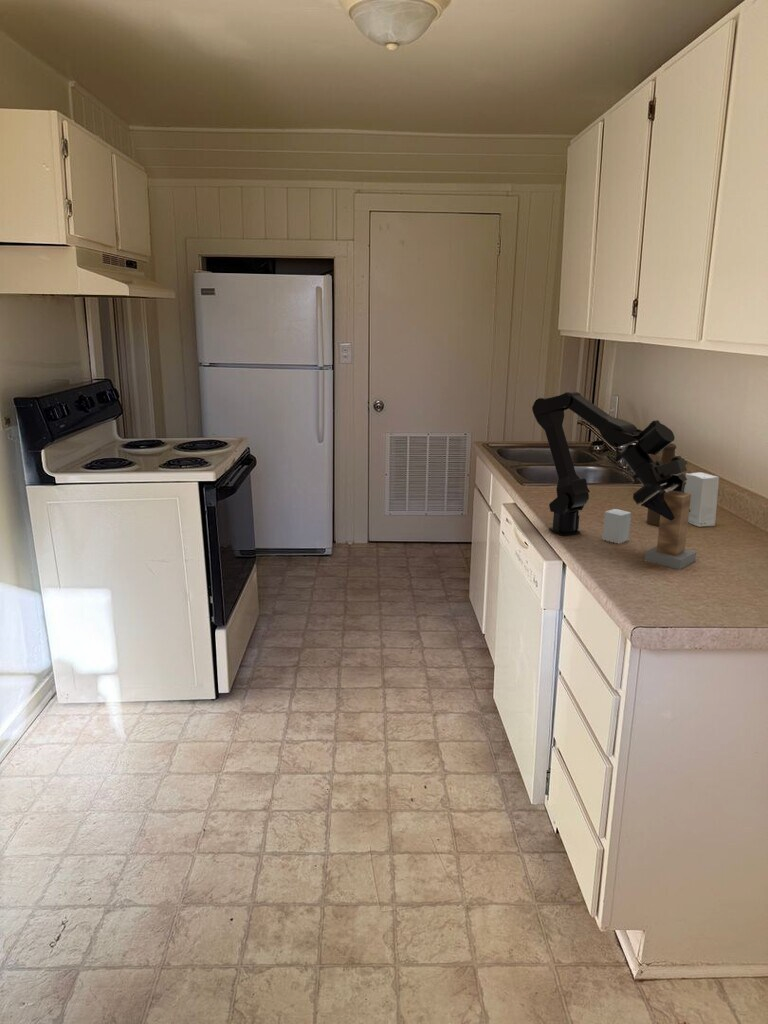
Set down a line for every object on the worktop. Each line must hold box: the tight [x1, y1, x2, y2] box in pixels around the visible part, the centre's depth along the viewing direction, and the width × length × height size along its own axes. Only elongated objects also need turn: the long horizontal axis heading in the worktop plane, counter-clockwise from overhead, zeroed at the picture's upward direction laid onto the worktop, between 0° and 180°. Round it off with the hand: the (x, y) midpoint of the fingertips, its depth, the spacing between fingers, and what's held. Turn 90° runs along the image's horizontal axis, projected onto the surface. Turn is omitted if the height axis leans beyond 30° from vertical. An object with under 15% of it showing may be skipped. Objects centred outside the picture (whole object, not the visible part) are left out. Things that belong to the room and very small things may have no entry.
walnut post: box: [656, 490, 691, 556], centre depth 175 cm, size 5×5×15 cm
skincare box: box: [684, 471, 720, 528], centre depth 209 cm, size 8×6×15 cm
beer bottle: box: [646, 442, 677, 528], centre depth 207 cm, size 8×8×24 cm
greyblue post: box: [601, 508, 632, 545], centre depth 194 cm, size 5×5×8 cm
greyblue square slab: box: [644, 545, 697, 570], centre depth 178 cm, size 9×9×3 cm
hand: (681, 516), depth 174 cm, fingers open, 9 cm apart
